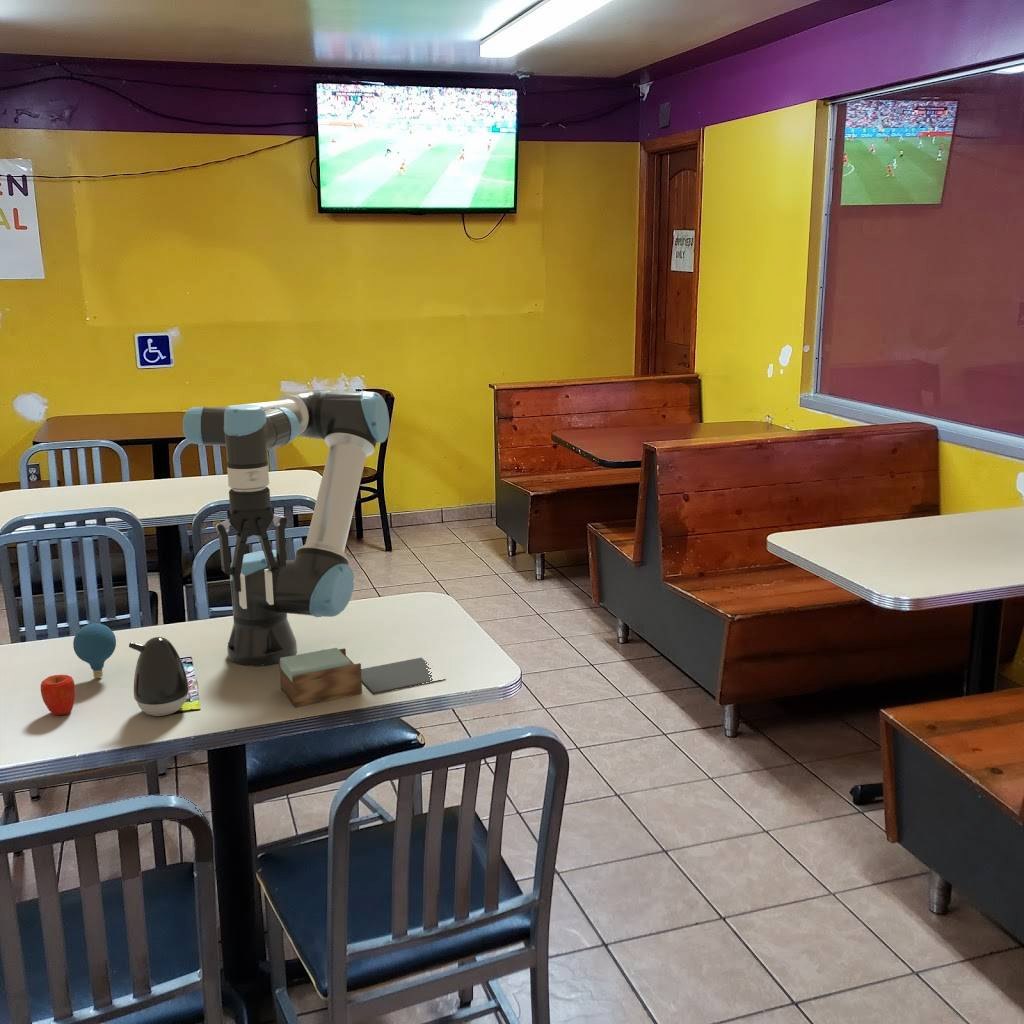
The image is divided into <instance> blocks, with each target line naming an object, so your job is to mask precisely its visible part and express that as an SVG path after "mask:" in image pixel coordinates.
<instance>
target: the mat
mask: <svg viewBox="0 0 1024 1024" xmlns="http://www.w3.org/2000/svg"><path fill="white" fill-rule="evenodd" d="M425 662H426V663H425ZM427 663H428V662H427V661H426V660H425V659H424V658H423V657H417V658H411V659H407V660H402V661H396V662H391V663H387V664H381V665H376V666H370V667H365V668H361V678H362V685H364V686H365V687H366V688H367V689H368V690H369V691H370V693H372V694H373V695H377V694H383V693H387V692H392V690H393V691H397V690H396V689H398V690H403V689H406V687H407V688H411V687H410V686H412V687H415V686H414V685H417V686H419V685H418V684H422V683H426V682H430V681H432V680H433V679H432V678H431V677H432V675H430V674H431V673H432V672H431V673H430V674H428V673H429V672H430V671H428V669H431V668H429V667H428V666H427V665H426V664H427ZM429 664H430V663H429ZM429 664H428V665H429ZM426 668H428V669H426ZM429 676H430V677H429ZM430 678H431V680H430ZM422 685H423V684H422ZM402 688H403V689H402Z"/></svg>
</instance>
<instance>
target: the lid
mask: <svg viewBox="0 0 1024 1024" xmlns="http://www.w3.org/2000/svg"><path fill="white" fill-rule="evenodd" d="M339 649H340V648H338V647H333V648H328V649H322V650H317V651H312V652H311V651H309V652H305V653H299V654H295V655H293V656H288V657H282V658H280V665H281V669H282V670H283V671H284V673H285V674H286V675H287V676H288V678H289V679H290V680H291V681H292V676H295V675H300V674H306V673H311V672H316V671H321V670H327V669H332V668H337V667H343V666H348V665H350V660H351V659H350V658H349V657H348V656H347V655H346V656H347V657H348V658H349V659H350V660H349V659H348V658H347V657H346V656H345V655H344V654H343V653H342V652H341V651H340V650H339ZM292 682H293V681H292Z"/></svg>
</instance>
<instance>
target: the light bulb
mask: <svg viewBox="0 0 1024 1024" xmlns="http://www.w3.org/2000/svg"><path fill="white" fill-rule="evenodd" d="M72 645H73V651H74V653H75V655H76V656H77V658H79V659H80V660H81V661H83V662H85V663H86V664H88V665H89V666H90V669H91V670H92V674H93V677H94V678H95V679H101V678H102V677H103V676H104V675H103V673H104V671H103V668H104V666H105V662H106V661H107V660H108V659H110V657H111V656H112V655H113V654H114V652H115V650H116V647H117V638H116V635H115V632H113V629H112V628H110V627H109V626H107V625H105V624H103V623H100V622H99V623H97V622H96V623H88V624H86V625H84V626H82V627H81V628H80V629H79V630H78V631H76V633H75V636H74V637H73V642H72Z"/></svg>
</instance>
